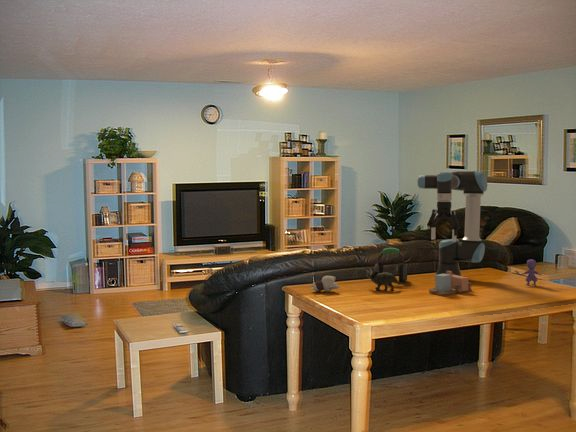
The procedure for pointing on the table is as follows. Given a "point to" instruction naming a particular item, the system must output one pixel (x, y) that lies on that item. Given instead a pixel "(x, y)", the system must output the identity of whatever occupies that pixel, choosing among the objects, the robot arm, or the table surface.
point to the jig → (452, 291)
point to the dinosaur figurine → (382, 279)
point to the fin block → (443, 282)
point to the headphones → (401, 266)
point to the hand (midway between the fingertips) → (443, 240)
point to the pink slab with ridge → (458, 281)
